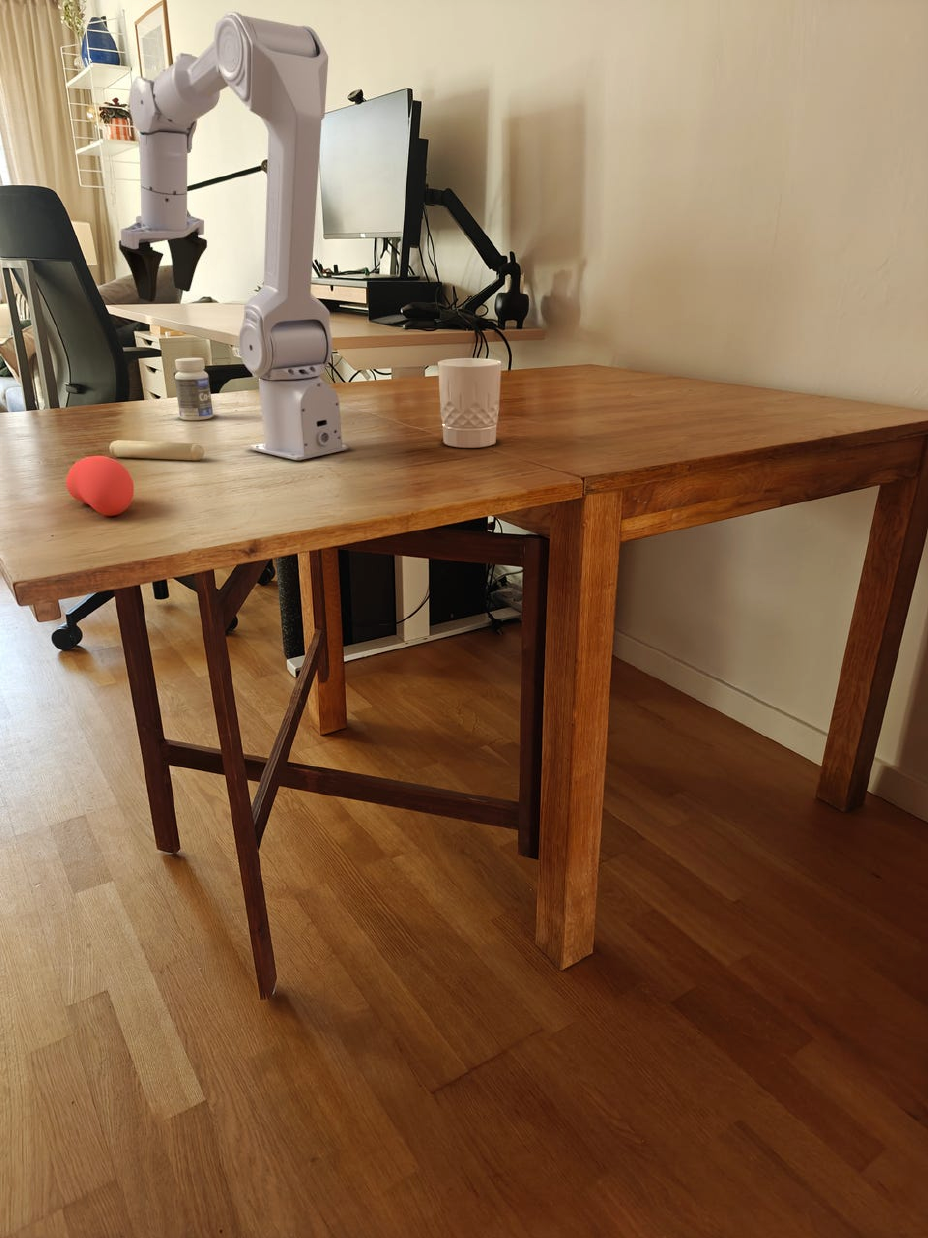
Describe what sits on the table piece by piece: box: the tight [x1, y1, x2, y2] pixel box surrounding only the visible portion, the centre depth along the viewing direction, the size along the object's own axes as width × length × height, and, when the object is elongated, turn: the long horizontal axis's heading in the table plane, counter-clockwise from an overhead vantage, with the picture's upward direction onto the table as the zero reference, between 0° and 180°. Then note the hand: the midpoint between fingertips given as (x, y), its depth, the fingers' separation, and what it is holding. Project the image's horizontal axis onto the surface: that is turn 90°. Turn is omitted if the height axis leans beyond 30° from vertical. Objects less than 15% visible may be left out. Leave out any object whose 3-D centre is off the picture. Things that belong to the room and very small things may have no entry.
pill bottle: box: [174, 357, 214, 421], centre depth 121 cm, size 5×5×8 cm
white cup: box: [437, 357, 502, 449], centre depth 105 cm, size 8×8×10 cm
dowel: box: [108, 439, 205, 462], centre depth 99 cm, size 12×2×2 cm, turn 79°
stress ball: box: [65, 455, 135, 517], centre depth 80 cm, size 5×9×6 cm
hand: (164, 294), depth 116 cm, fingers open, 7 cm apart
